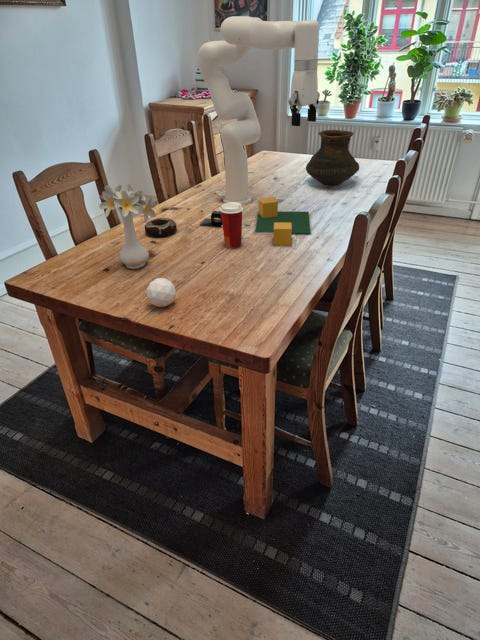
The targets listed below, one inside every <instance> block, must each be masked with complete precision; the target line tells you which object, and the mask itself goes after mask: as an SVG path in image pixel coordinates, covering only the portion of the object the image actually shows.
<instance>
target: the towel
mask: <svg viewBox="0 0 480 640" xmlns="http://www.w3.org/2000/svg"><path fill="white" fill-rule="evenodd" d="M309 214H310V213H309V211H278V217H270V218H262V217H261V216H260V214H259V211H258V212H257V217H256V224H255V231H254V234H255V233H258V234H260V233H261V234H269V233H270V234H274V222H283V223H292V233H291V235H311V234H312V233H311V223H310V215H309Z"/></svg>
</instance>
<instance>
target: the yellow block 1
mask: <svg viewBox="0 0 480 640" xmlns="http://www.w3.org/2000/svg"><path fill="white" fill-rule="evenodd" d="M257 200H258V212H259V214H260V216H261V217H262V218H270V217H278V212H279V211H278V210H279V208H278V207H279V201H278V200H277V199H275V197H274V196H270V197H261V198H258V199H257Z"/></svg>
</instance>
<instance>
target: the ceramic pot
mask: <svg viewBox="0 0 480 640" xmlns="http://www.w3.org/2000/svg"><path fill="white" fill-rule="evenodd" d="M317 134H318V135H319V136H320V148H319V149H318V150H317V151H316V152H315V153H314V154H313V155H312V156H311V158H310V159H309V161H308V162H307V163H306V167H305V171H306V173H307V174H308V175H309V176H310V178H311V177H312V178H313V179H314V180H316V182H318V183H320V184H321V185H323V186H327V187H338V186H340V185H342V184H343V183H345V182H346V181H348V180H349V179H351V178H352V177H353V176H355V175H356V173H358V172H359V171H360V164H359V162H357V160H356V159H355V157H354V156H353V155H352V154H351V151H350V149H349V146H350V142H351V137H353V136H354V134H355V133H354V132H353V131H349V130H344V129H343V130H340V129H324V130H321V131H319V132H318V133H317Z"/></svg>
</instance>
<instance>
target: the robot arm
mask: <svg viewBox="0 0 480 640" xmlns="http://www.w3.org/2000/svg"><path fill="white" fill-rule="evenodd" d="M219 30H220V31H219V32H220V36H221V39H222V40H210V41H207V42H205V43H203V44H202V45H201V46H200V48H199V50H198V53H197V66H198V70H199V73H200V75H201V78H202V79H203V81H204V83H205V85H206V87H207V90H208V93H209V96H210V100H211V102H212V105H213V107H214V111H215V113H216V115H217V117H218V118H219V119H220V120H221V121H231V120H235V121H231V122H229V123H227V124H225V125H224V126H223V127H222V129H221V131H220V139H221V140H220V141H221V144H222V149H223V155H224V156H223V157H224V174H225V177H224V178H225V189H223V190H216V191H215V195H216V196H217V197H219V198H222V202H223V204H225V203H230V202H235V203H240V204H241V205H244V204H247V203H250V202H252V201H253V196H252V195H250V194H249V166H248V165H249V163H248V155H247V152H246V151H245V149H244V147H246V146H248V145H253V144H255V143H257V142H258V141H259V140H260V138H261V135H262V130H261V125H260V121H259V118H258V115H257V112H256V110H255V107H254V103H253V101H252V99H251V98H250V96H249V94H247V93H246V92H244V91H235V92H234V91H233V90H232V88H231V85H230V82H229V79H228V78H227V76H226V75H225V74H224V73H223V71H222V70H220V67H221V68H222V67H230V66H236V65H238V64H239V63H241V62H242V61H243V59H244V58H245V56H246V55H247V54H248V52H249V51H250V50H251V48H255V49H264V50H289V49H293V50H294V51H293V53H294V57H293V72H292V76H291V84H290V97H289V98H288V105H289V110H290V113H291V126H292V127H300V126H301V115H302V114H301V113H302V112H301V109H302V107H305V106H308V108H307V122H311V123H316V122H317V110H318V105H319V103H320V97H321V93H320V92H319V91H318V90H319V84H318V64H319V45H320V44H319V40H320V23H319V21H318V20H315V19H310V20H299V21H298V20H278V21H277V20H275V21H273V20H272V21H271V20H270V21H269V20H263V19H261V18H260V17H256V16H255V17H254V16H248V15H238V16H237V15H235V16H233V15H232V16H228V17H227V18H225V19H224V20H223V21H222V23H221V25H220V29H219Z"/></svg>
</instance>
